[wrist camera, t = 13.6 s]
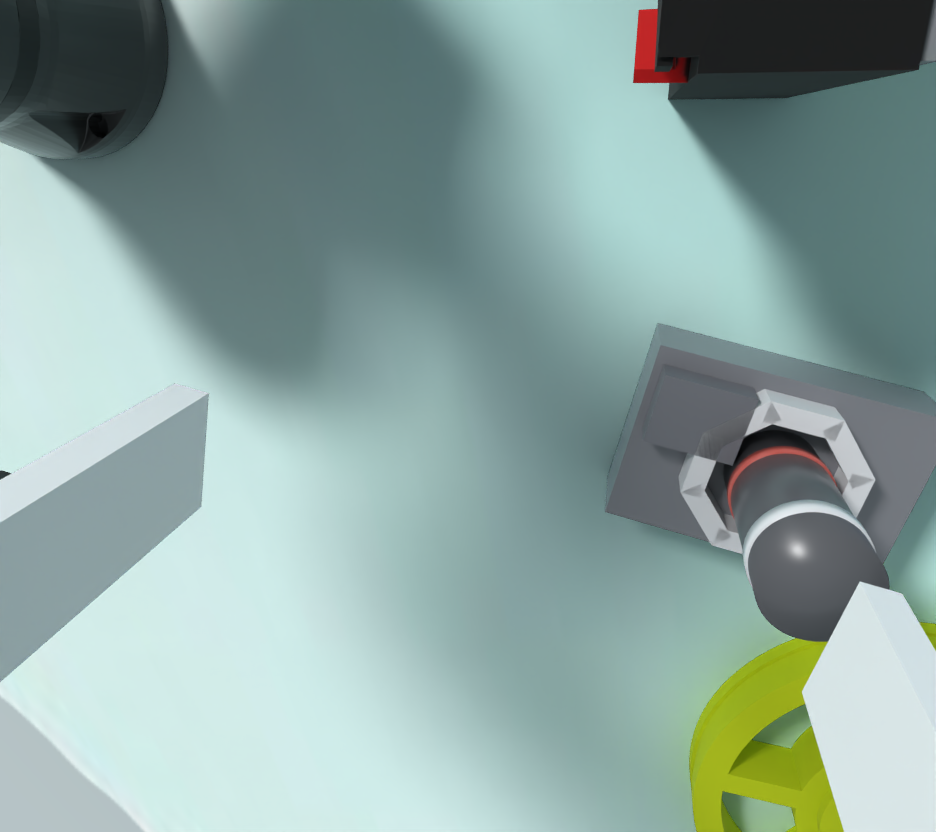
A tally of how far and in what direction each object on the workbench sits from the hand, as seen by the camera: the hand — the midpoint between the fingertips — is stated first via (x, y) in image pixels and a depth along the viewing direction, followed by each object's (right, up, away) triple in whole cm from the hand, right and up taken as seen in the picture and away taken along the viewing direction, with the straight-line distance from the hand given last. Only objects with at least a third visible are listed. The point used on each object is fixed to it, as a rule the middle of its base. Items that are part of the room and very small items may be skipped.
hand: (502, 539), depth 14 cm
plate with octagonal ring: (+18, +1, +31) cm, 36 cm away
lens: (+17, -1, +27) cm, 32 cm away
